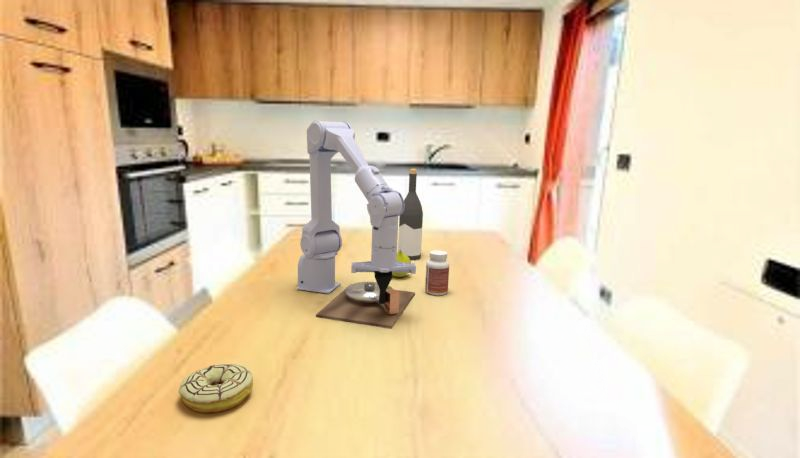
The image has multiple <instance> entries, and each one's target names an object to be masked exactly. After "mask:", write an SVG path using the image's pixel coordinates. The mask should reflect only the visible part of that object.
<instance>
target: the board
mask: <svg viewBox="0 0 800 458" xmlns="http://www.w3.org/2000/svg"><path fill="white" fill-rule="evenodd" d="M395 290H396V291H398V292H399V313H395V314H390V315H389V314H388V313H387V312H385V311H384V309H385V308H384V307H383V306H381V305H380V304H379V303H377V302H360V301H355V300H352V299H350V298H348V297H347V296H346V294H345V291H346V288H345V289H343V290H342V291H341V292H340V293H339V294H338V295H336V297H334V298H332V299H331V301H329V302H328V304H326V305H325V306H324V307H322V309H320V310H319V311H318V312H317V313H316V314H315V318H321V319H327V320H334V321H340V322H341V321H342V322H349V323H354V324H358V325H366V326H373V327H380V328H385V329H386V328H387V329H392V328H393V327H394V326H395V324H396V323H397V322H398V320H399V319H400V317H401V316H402V314H403V313H404V311H405V310H406V308H407V307H408V305H409V304H410V302H411V301H412V299H413V298H414V296H415V295H416V292H415V291H408V290H401V289H395Z"/></svg>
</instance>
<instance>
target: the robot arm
mask: <svg viewBox="0 0 800 458" xmlns="http://www.w3.org/2000/svg"><path fill="white" fill-rule="evenodd" d="M355 139H356V131H355V130H354V129H353V127H352V125H351V124H350V123H349V122H347V121H325V120H318V119H316V120H313V121H312V122H311V123H310V124H309V126H308V127H307V129H306V144H307V145H306V149H307V151H306V152H307V154H308V157H309V184H310V186H309V187H310V188H309V189H310V213H311V216H310V217H311V219H310V220H309V221H308V222H307V223H306V224H305V225H304V226H303V227H302V228H301V229H302V231H301V237H300V243H299V244H300V250H301V252H302V253H303V254H301V256H300V257H299V259H298V261H297V287H296V290H299V291H300V290H301V291H308V292H315V293H322V294H331V293H332V292H333V291H334V290H336V288H338V287H339V286H340V285H341V282H338V281H337V282H336V256H338V252H339V251H341V249H342V246H343V238H342V235H341V232H340V231H341V229H340V225H339V224H337V222H335V221H334V220H333V217H332V216H333V211H332V210H333V209H332V205H333V204H332V170H331V160H332V159H333V158H334V156H335V155H337V154H338V153H340V155H341V156H342V157H343V159H344V160H345V161H346V162H347V164H348V165H349V167H350V168H351V169H352V170H353V172H354V173H355V176H354V181H355V183H356V185H357V187H358V188H359V189H360V192H361V193H362V194H363V196H364V198H365V199H366V200H367V202H368V203H367V204H366V209H367V213H368V215H369V220H370V222H369V223H370V226H371V227H372V228H371V255H370V256H371V260H369V261H359V262H358V261H356V262H355V261H353V262H351V271H350V272H351V274H356V273H374V279H375V282H377V284H378V286H379V289H380V293H379V304H385V292H386V289H387V287H388V285H389V286H390V283H391V281H392V280H393V275H392V273H408V274H411V275H416V271H417V270H416V269H417V266H416V263H412V262H411V263H404V262H396V261H397V253H398V239H399V216H400V215H401V214H402V213H403V211H404V206H405V204H404V200H405V198H404V197H403V195H402V193H401V192H400V191H399V190H394V189H393V188H392V187H390V186H389V185H388V183H387V182H386V180H385V179H384V177H383V175H382V173H380V172H381V171H380V170H379V168H378V167H376V166H374V165H369V164H368V162H367V160H366V158H365V157H364V155H363V152H362V151H361V150H360V148H359V146H358V144H357V142H356V140H355Z"/></svg>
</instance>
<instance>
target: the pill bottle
mask: <svg viewBox="0 0 800 458" xmlns="http://www.w3.org/2000/svg"><path fill="white" fill-rule="evenodd" d="M428 257H429V259H427V261H426V266H425V283H424V284H425V285H424V287H425V288H424V289H425V292H426V293H427V294H429V295H432V296H443V295H446V294H447V293H448V291H449V278H450V276H449V275H450V262H449V261H448V260H447V258H448V252H447V251H444V250H440V249H438V250H437V249H436V250H430V251H429V256H428Z"/></svg>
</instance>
